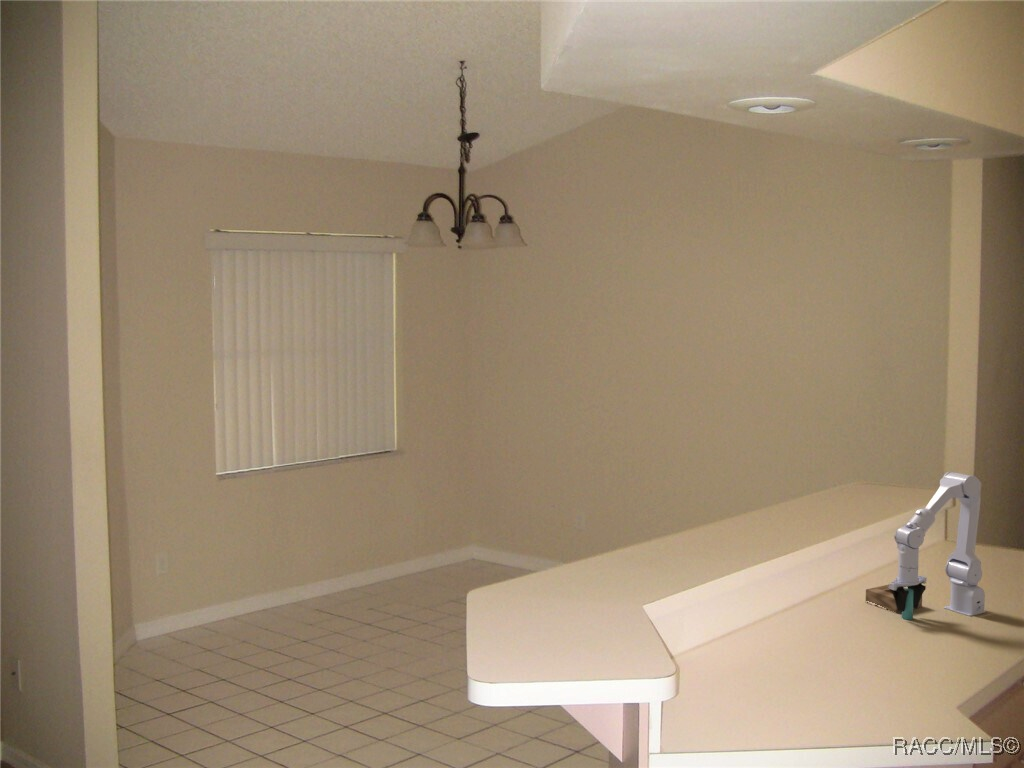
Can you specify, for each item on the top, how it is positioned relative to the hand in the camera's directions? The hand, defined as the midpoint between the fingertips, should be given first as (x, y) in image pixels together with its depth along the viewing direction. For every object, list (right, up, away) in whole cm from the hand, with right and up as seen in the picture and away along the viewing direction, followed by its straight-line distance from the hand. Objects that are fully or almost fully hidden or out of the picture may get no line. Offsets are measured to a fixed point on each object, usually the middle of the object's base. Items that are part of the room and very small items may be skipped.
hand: (907, 609), depth 291 cm
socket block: (+1, -2, +13) cm, 13 cm away
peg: (0, -3, 0) cm, 3 cm away
